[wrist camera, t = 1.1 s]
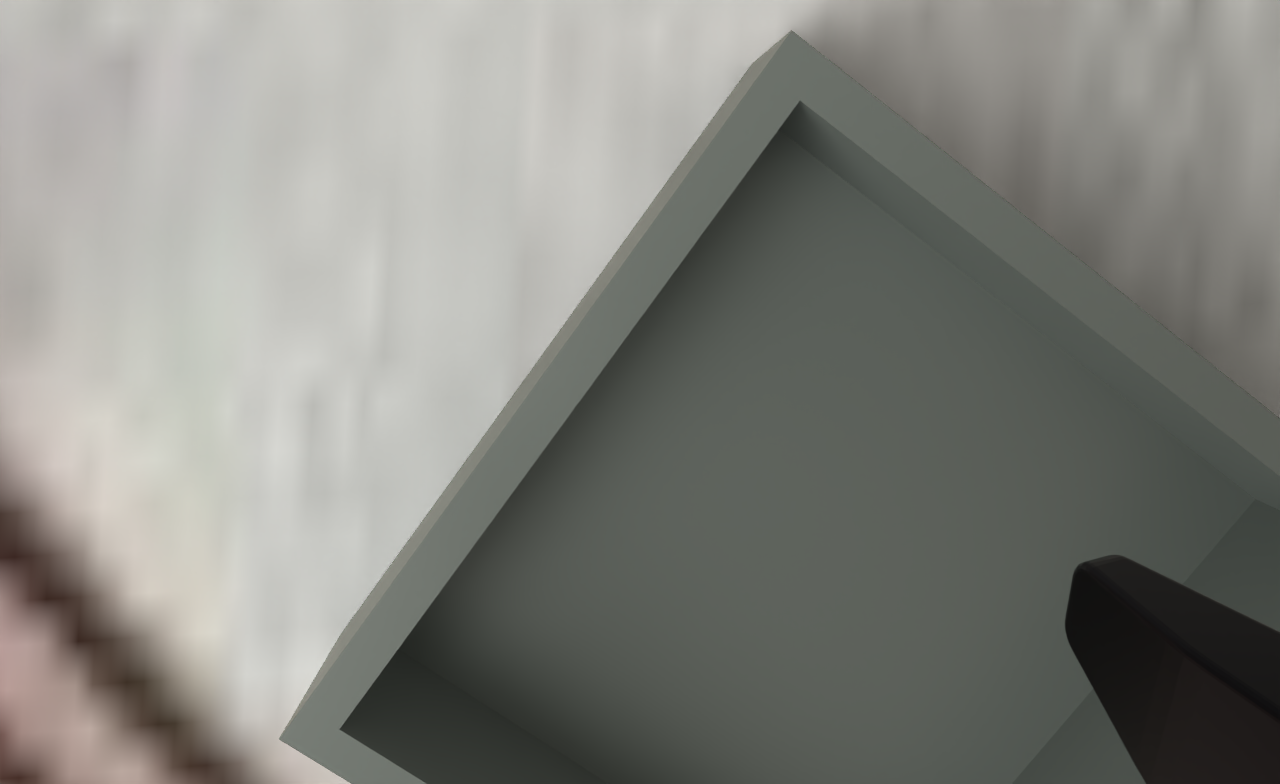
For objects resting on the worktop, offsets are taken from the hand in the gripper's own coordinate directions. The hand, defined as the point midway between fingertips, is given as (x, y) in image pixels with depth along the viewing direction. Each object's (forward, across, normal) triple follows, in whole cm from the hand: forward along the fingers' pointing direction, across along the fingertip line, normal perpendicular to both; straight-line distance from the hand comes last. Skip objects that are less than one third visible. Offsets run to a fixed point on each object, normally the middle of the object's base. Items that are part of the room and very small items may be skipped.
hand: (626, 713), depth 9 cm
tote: (+10, -6, +9) cm, 15 cm away
